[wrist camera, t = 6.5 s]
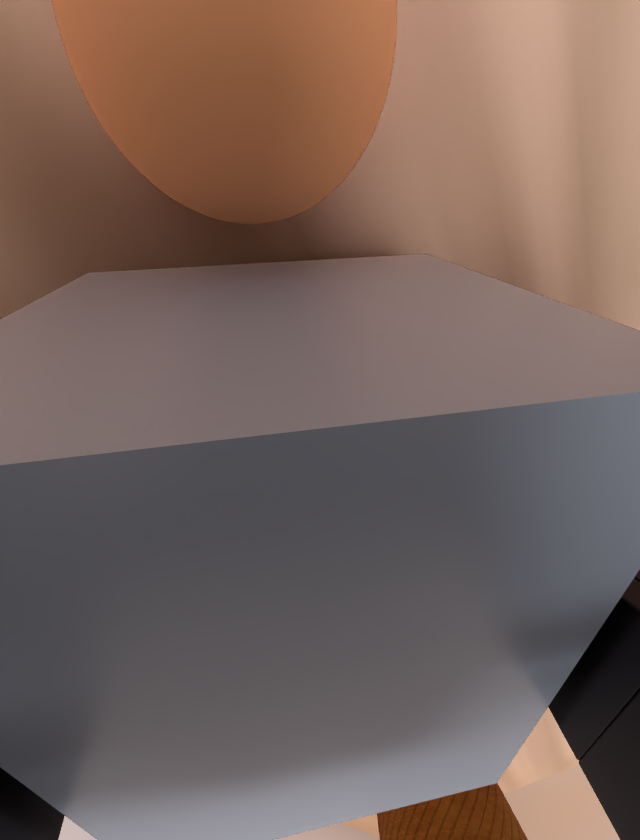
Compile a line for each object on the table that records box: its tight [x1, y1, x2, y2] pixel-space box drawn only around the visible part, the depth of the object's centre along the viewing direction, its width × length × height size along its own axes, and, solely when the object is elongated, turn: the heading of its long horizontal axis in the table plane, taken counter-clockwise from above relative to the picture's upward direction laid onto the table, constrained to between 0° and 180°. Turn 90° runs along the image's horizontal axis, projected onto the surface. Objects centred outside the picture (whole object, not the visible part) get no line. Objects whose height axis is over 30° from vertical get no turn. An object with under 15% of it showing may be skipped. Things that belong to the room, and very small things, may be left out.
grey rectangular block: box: [0, 254, 640, 840], centre depth 8 cm, size 8×10×7 cm
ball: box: [52, 0, 397, 224], centre depth 6 cm, size 5×5×5 cm
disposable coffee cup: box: [377, 783, 528, 840], centre depth 21 cm, size 10×10×12 cm
